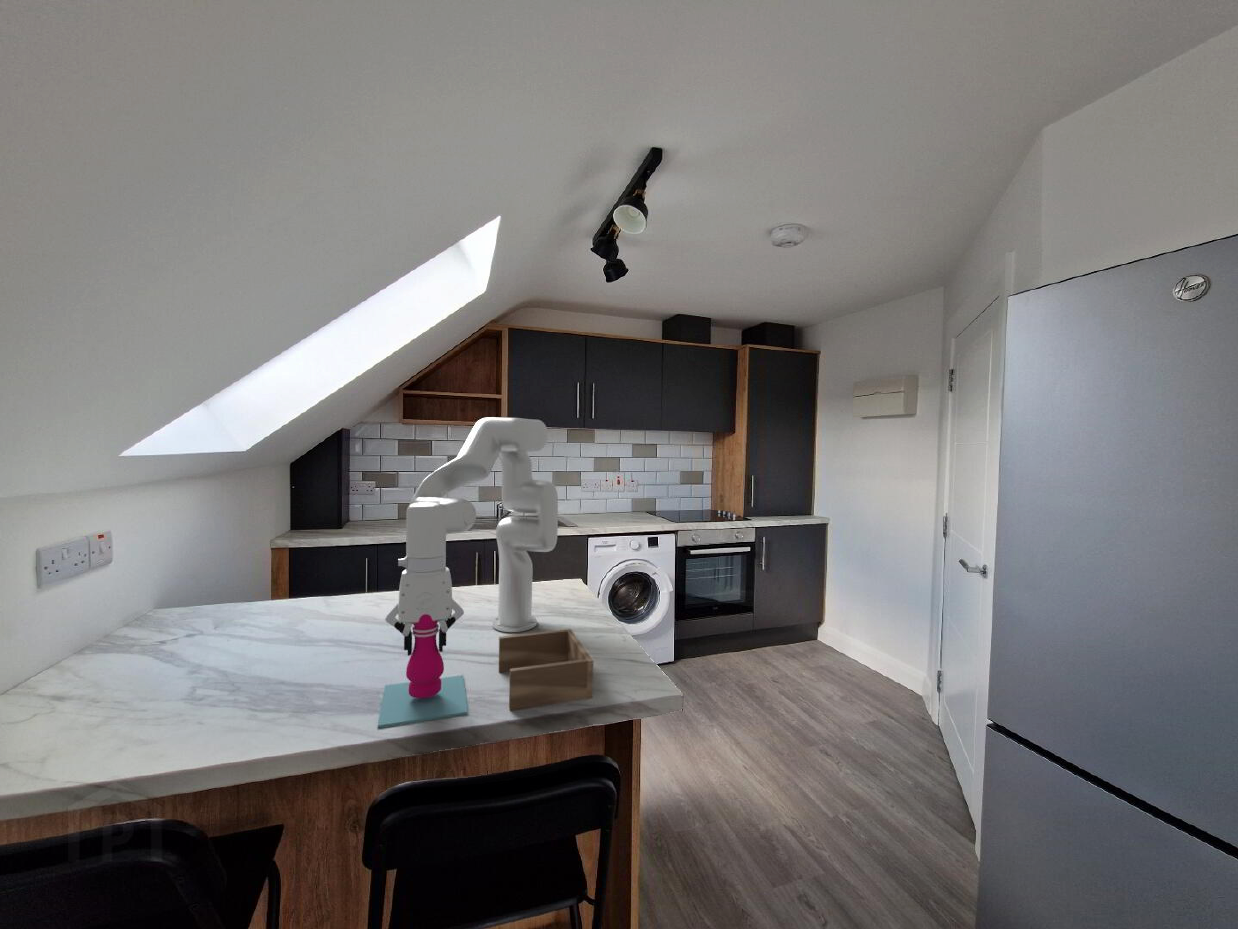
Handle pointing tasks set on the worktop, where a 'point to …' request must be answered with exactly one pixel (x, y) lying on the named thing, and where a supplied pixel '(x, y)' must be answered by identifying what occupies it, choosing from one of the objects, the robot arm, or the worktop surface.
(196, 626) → the worktop surface
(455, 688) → the mat
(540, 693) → the open side box
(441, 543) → the robot arm
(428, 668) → the pepper mill
